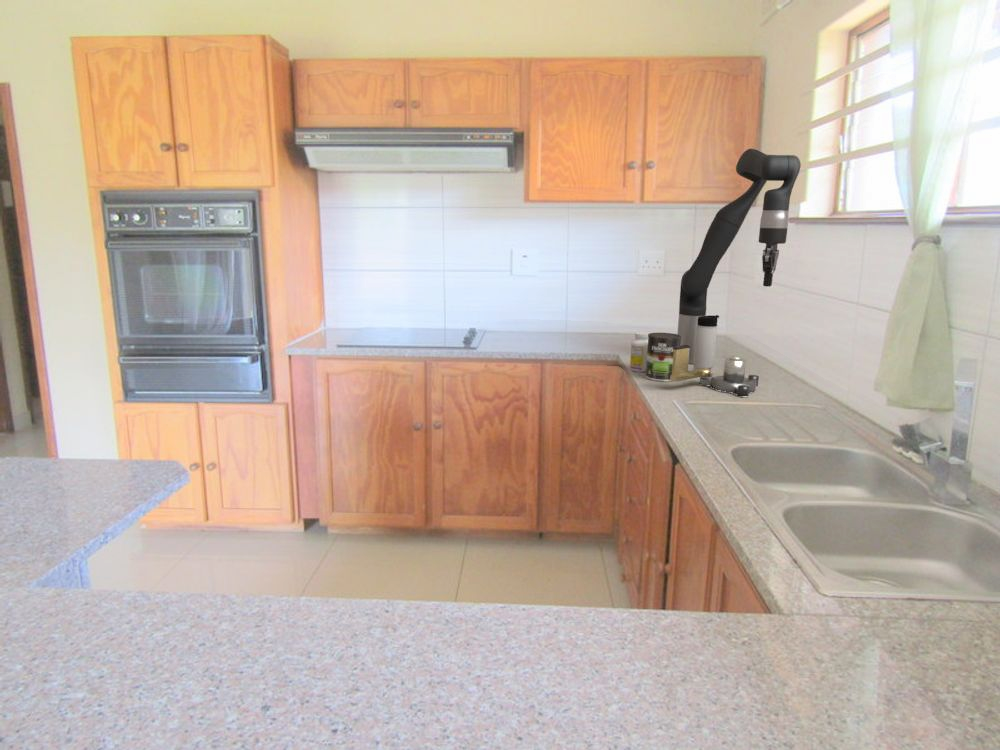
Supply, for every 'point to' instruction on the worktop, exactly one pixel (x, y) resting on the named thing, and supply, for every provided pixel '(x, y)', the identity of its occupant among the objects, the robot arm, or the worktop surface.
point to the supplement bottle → (639, 352)
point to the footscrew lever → (685, 366)
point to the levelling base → (728, 385)
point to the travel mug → (705, 342)
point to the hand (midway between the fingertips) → (767, 286)
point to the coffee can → (661, 355)
